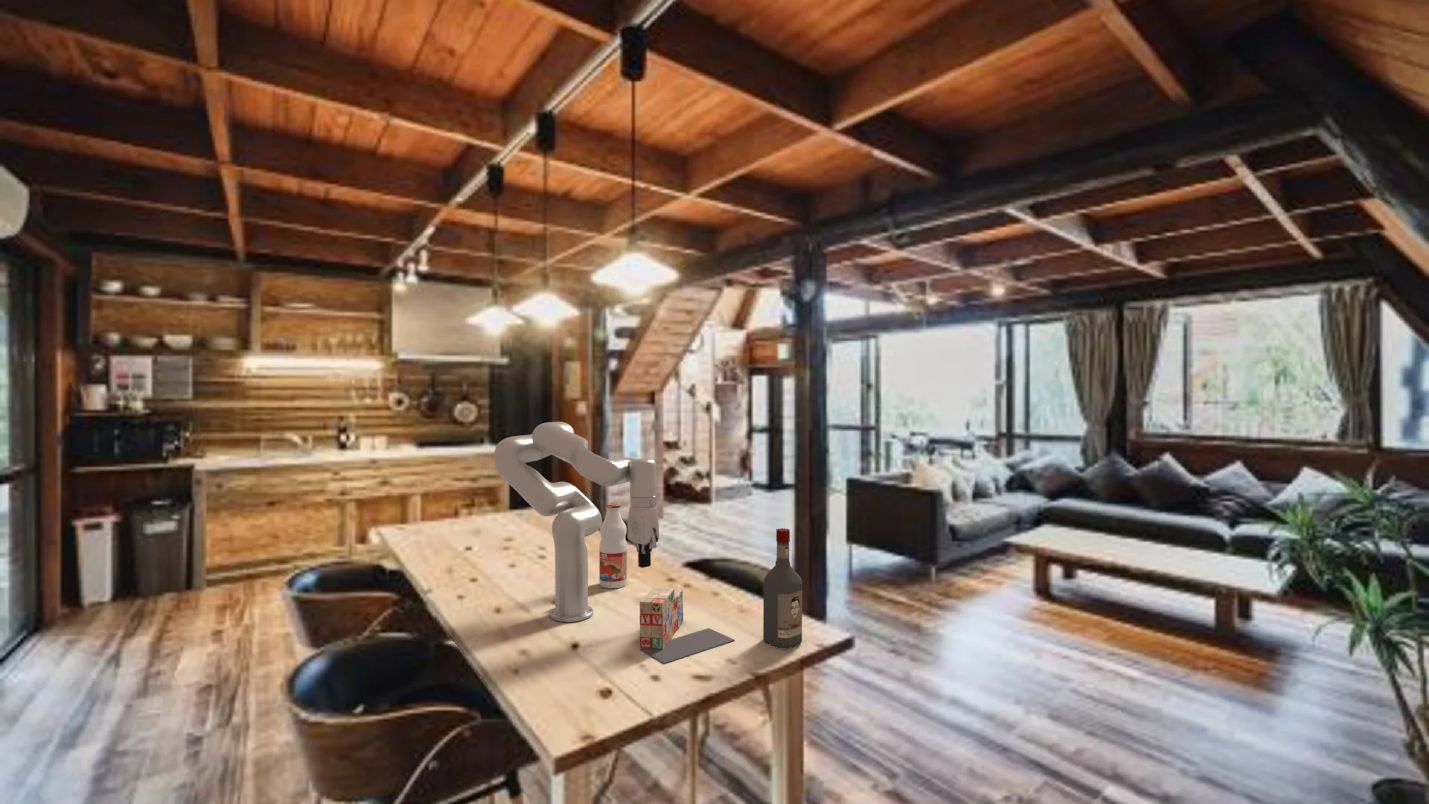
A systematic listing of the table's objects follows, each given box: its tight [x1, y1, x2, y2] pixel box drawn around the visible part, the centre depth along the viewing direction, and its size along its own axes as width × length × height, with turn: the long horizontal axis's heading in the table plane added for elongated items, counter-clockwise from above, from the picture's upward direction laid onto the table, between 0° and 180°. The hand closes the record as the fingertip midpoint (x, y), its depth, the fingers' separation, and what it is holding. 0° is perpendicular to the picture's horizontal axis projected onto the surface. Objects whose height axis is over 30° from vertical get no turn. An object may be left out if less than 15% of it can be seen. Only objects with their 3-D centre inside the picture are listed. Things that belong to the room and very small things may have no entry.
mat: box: [639, 627, 736, 665], centre depth 168 cm, size 11×23×1 cm, turn 130°
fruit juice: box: [598, 502, 628, 589], centre depth 220 cm, size 9×9×28 cm
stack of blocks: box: [639, 587, 684, 650], centre depth 175 cm, size 21×6×12 cm, turn 168°
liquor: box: [762, 527, 803, 649], centre depth 170 cm, size 9×9×30 cm
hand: (644, 566), depth 182 cm, fingers closed
